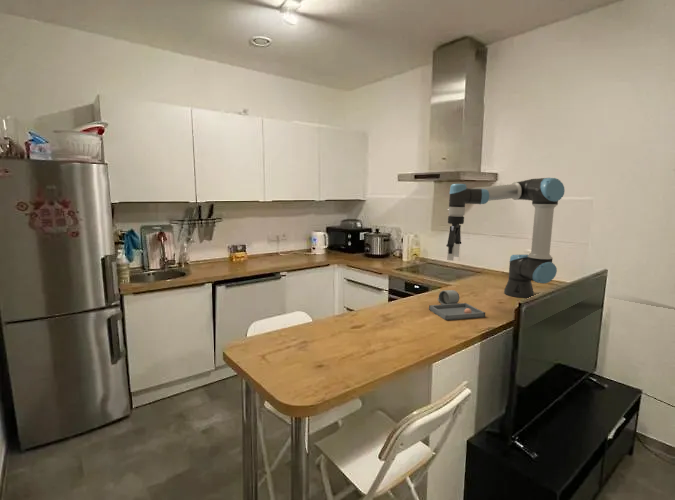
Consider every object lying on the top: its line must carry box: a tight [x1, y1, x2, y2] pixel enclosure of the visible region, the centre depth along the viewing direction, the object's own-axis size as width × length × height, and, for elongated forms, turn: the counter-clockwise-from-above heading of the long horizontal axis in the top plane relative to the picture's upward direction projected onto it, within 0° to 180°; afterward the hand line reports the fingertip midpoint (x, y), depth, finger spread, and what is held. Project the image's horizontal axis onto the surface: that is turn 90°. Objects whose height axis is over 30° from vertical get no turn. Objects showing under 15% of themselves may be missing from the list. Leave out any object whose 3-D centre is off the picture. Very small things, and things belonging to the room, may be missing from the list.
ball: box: [464, 308, 472, 313], centre depth 172 cm, size 3×3×3 cm
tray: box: [428, 302, 486, 321], centre depth 177 cm, size 20×16×2 cm
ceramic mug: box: [437, 289, 460, 305], centre depth 193 cm, size 11×8×8 cm
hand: (453, 258), depth 186 cm, fingers open, 13 cm apart
